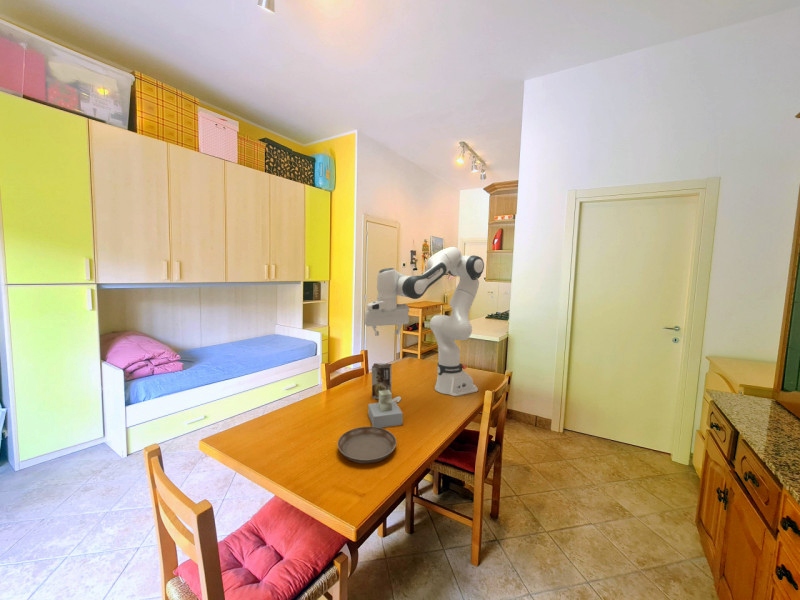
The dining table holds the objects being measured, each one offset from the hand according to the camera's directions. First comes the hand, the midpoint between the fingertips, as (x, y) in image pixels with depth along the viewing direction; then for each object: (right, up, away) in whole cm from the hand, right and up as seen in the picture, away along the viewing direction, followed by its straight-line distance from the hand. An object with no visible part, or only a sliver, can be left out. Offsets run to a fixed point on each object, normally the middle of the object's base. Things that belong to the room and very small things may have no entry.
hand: (387, 334), depth 142 cm
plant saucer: (-6, -38, -31) cm, 49 cm away
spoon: (0, -34, +3) cm, 34 cm away
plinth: (0, -35, -10) cm, 36 cm away
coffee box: (-3, -33, +14) cm, 35 cm away
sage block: (0, -30, -10) cm, 32 cm away
